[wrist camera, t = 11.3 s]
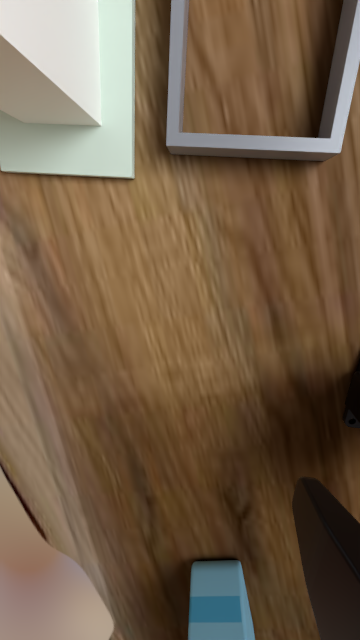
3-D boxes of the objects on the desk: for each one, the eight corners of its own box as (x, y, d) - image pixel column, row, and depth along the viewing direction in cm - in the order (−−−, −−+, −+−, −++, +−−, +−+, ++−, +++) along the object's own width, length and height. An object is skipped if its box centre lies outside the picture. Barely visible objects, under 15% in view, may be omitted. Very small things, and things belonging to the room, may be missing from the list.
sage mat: (135, -138, 13) (132, -154, 12) (134, 178, 17) (131, 177, 17) (-31, -134, 14) (-42, -149, 13) (7, 172, 18) (1, 170, 17)
